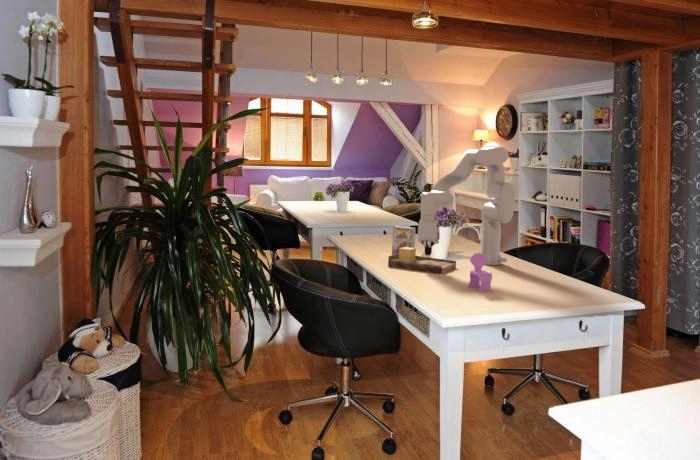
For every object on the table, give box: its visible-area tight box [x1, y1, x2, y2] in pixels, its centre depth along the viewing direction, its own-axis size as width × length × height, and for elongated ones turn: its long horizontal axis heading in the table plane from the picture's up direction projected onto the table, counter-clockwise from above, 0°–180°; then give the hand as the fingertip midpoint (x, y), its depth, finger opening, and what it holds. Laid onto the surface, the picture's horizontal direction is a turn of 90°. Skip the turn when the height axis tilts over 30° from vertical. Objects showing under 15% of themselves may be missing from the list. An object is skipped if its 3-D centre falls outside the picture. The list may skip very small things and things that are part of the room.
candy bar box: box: [391, 225, 416, 255], centre depth 320 cm, size 11×5×16 cm, turn 58°
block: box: [399, 247, 417, 262], centre depth 300 cm, size 6×6×6 cm
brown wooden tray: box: [387, 253, 457, 275], centre depth 296 cm, size 28×18×5 cm, turn 58°
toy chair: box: [467, 252, 493, 293], centre depth 252 cm, size 8×9×15 cm
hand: (428, 254), depth 295 cm, fingers closed
